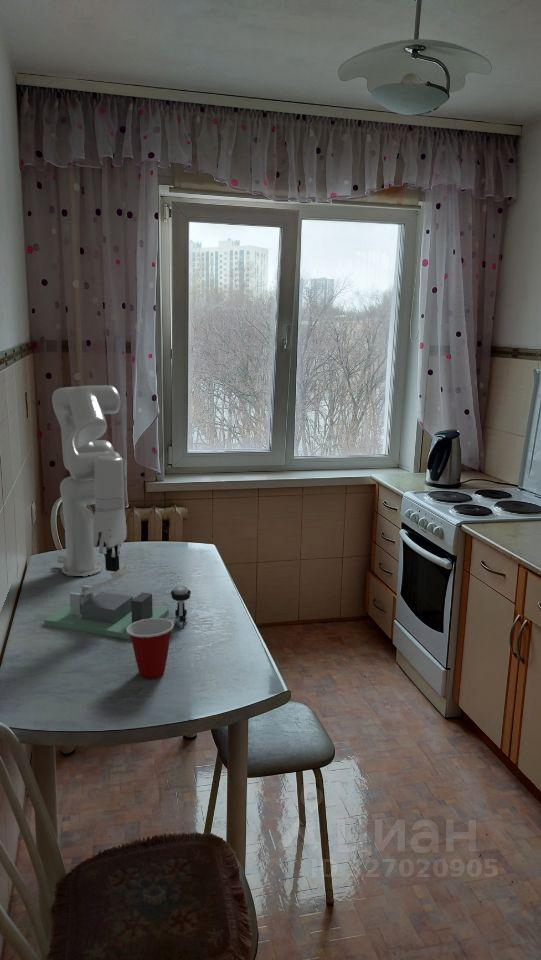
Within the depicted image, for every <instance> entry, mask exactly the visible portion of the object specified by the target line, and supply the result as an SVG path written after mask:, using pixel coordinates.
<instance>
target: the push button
mask: <svg viewBox="0 0 541 960" xmlns="http://www.w3.org/2000/svg"><path fill="white" fill-rule="evenodd" d="M191 593H192V592H191V590H190V589H188V587H187V586H184V585H180V586H176V587H174V588H173V589H172V590H171V591H170V595H171V599H172V600H173V601H176V602H177V603H176V604H177V606H176V609H175V612H174V613H175V614H174V615H175V624H177V627H178V628H180V629H181V628H183V627H185V624H187V623H188V621H187V618H188V617H187V612H188V611H187V609H186V608H185V601H187V600H189V599H190V598H191Z"/></svg>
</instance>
